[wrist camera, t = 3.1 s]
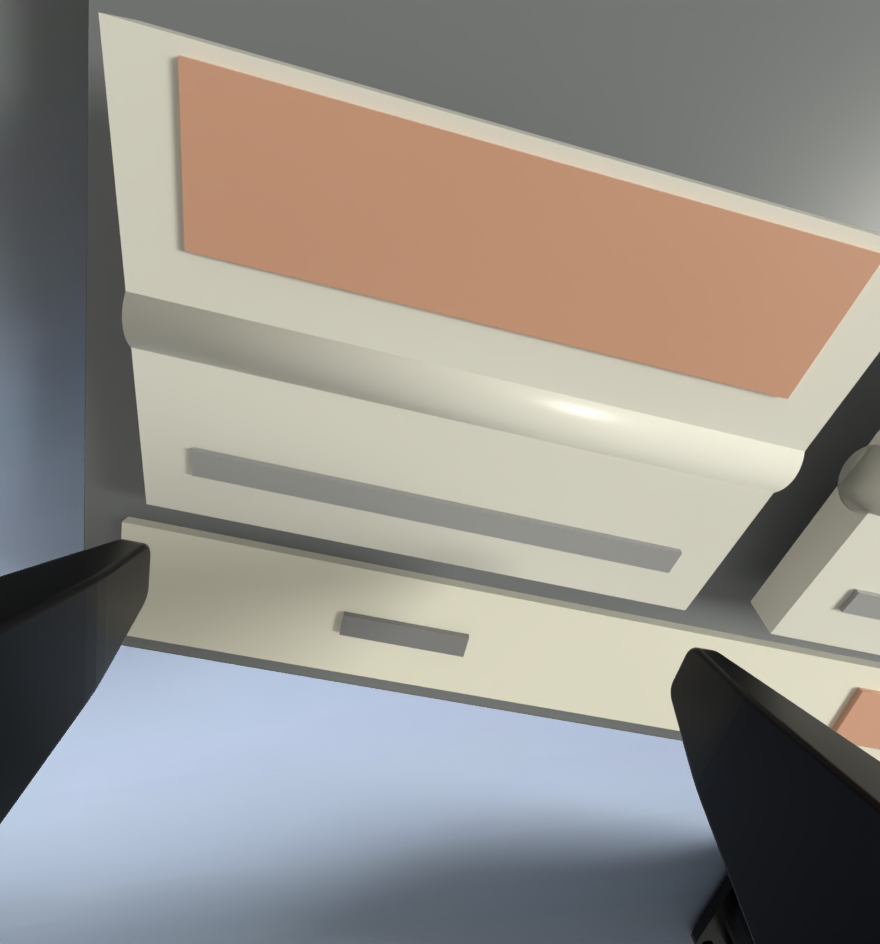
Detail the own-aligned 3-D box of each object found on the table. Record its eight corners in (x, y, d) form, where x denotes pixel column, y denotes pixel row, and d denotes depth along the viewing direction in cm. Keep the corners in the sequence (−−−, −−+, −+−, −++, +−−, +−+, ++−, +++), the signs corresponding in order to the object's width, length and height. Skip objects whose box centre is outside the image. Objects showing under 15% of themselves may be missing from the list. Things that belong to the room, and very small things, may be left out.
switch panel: (984, 731, 20) (1090, 821, 17) (140, 575, 17) (72, 650, 14) (1396, 198, 14) (1692, 180, 11) (179, -203, 11) (72, -405, 7)
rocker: (669, 572, 14) (688, 617, 12) (172, 470, 12) (141, 510, 11) (897, 237, 9) (961, 260, 8) (144, 20, 8) (89, 10, 7)
